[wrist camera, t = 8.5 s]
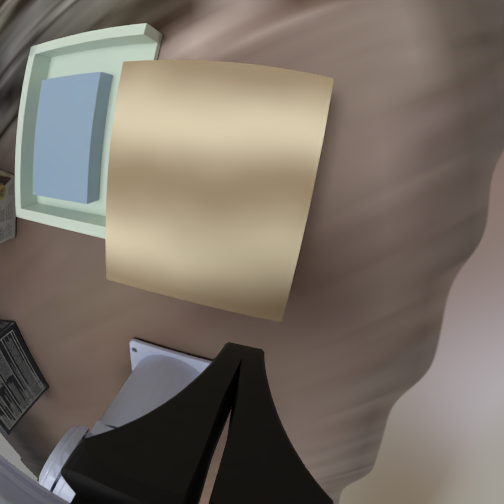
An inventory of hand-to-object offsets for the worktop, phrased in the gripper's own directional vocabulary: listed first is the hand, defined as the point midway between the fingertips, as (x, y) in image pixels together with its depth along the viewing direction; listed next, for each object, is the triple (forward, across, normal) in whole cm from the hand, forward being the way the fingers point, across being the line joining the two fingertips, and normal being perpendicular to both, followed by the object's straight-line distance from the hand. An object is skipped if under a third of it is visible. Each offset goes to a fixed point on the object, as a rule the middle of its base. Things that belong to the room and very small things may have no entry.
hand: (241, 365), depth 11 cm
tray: (+10, +15, -8) cm, 19 cm away
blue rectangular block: (+8, +16, -7) cm, 19 cm away
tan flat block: (+10, +4, -5) cm, 12 cm away
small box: (+10, +29, +20) cm, 37 cm away
